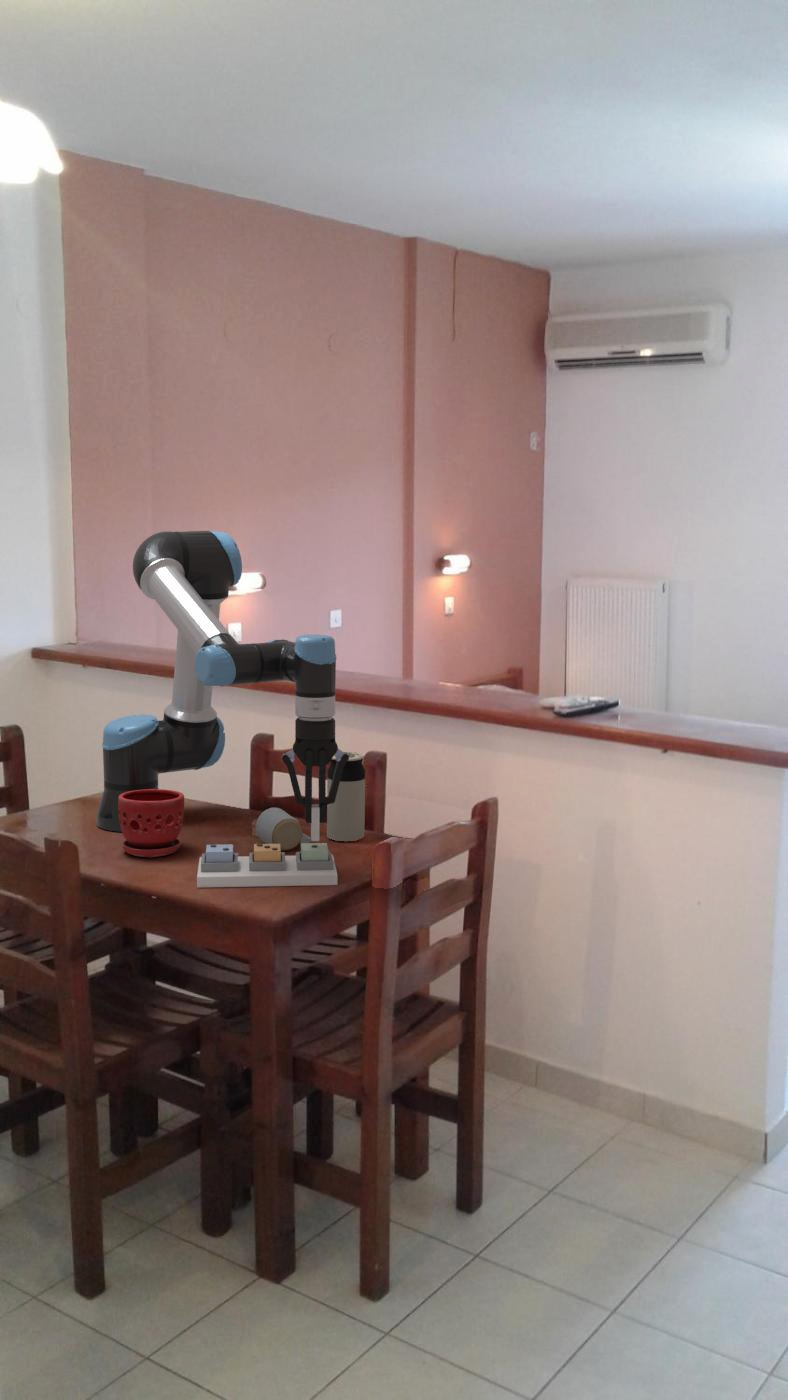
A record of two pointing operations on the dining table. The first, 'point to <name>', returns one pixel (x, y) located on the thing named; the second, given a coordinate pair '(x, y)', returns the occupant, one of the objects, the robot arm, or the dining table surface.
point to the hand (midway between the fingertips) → (315, 839)
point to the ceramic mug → (280, 829)
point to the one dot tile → (314, 851)
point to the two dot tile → (219, 853)
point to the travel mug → (347, 800)
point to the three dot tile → (267, 852)
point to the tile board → (266, 872)
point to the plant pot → (151, 821)
